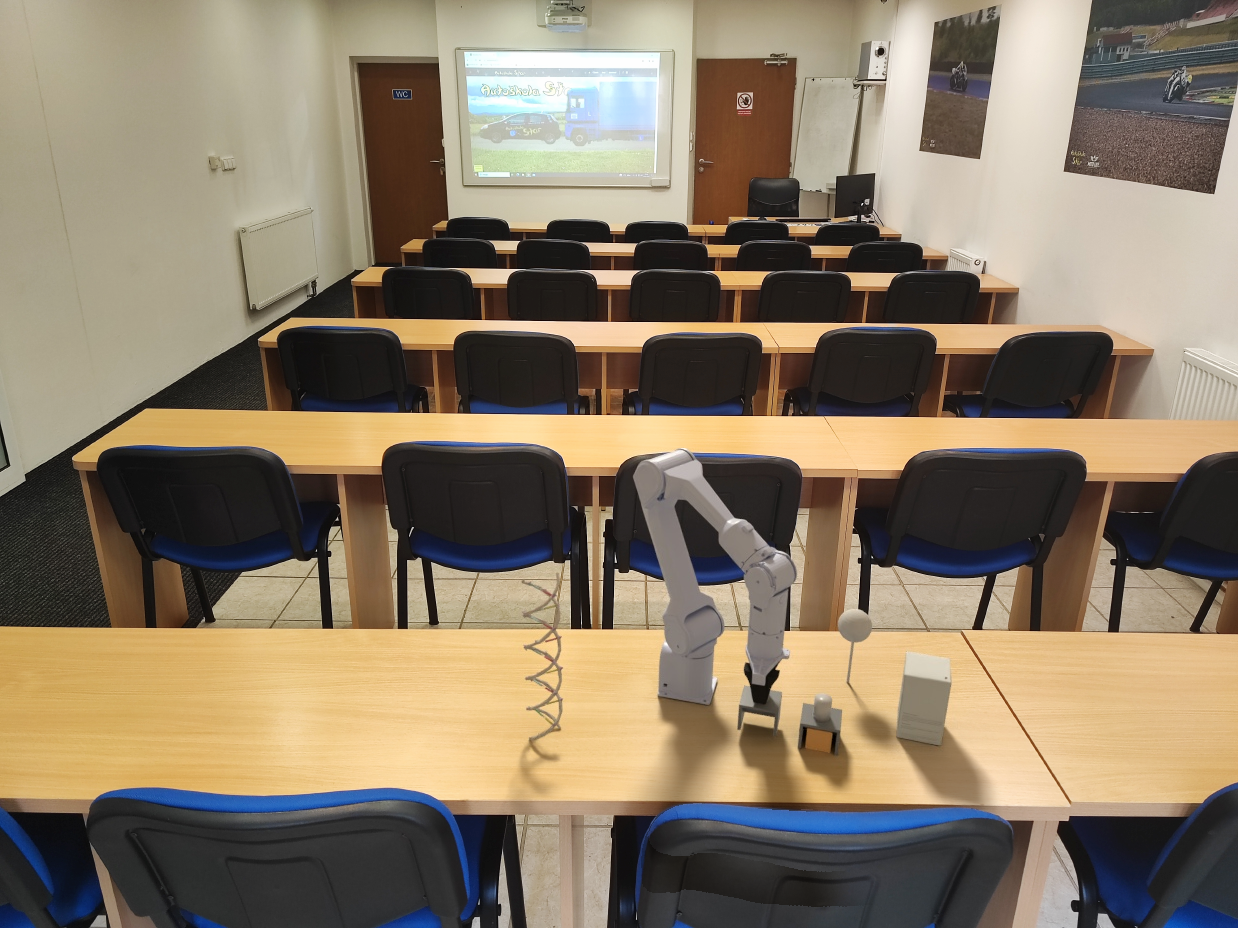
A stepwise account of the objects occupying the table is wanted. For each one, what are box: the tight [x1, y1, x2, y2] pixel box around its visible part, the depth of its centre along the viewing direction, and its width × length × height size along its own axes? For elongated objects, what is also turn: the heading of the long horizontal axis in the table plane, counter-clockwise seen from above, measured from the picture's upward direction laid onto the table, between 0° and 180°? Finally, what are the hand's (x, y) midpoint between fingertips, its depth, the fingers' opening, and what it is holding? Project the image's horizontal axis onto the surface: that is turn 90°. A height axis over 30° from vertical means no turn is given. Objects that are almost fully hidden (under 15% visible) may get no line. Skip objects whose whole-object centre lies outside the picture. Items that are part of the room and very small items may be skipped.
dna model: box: [521, 572, 564, 741], centre depth 142 cm, size 7×6×30 cm
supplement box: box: [896, 651, 952, 746], centre depth 147 cm, size 7×7×13 cm
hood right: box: [797, 692, 843, 756], centre depth 145 cm, size 6×6×8 cm
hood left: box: [737, 685, 783, 738], centre depth 147 cm, size 6×6×8 cm
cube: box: [804, 727, 833, 753], centre depth 145 cm, size 4×4×4 cm
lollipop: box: [837, 608, 873, 684], centre depth 158 cm, size 6×6×15 cm
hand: (760, 695), depth 146 cm, fingers closed on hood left, 3 cm apart
